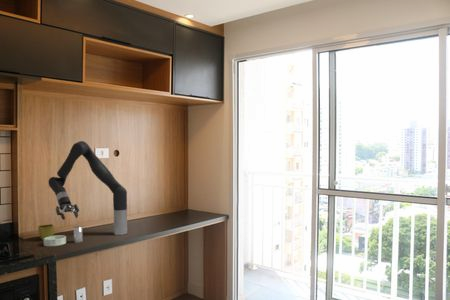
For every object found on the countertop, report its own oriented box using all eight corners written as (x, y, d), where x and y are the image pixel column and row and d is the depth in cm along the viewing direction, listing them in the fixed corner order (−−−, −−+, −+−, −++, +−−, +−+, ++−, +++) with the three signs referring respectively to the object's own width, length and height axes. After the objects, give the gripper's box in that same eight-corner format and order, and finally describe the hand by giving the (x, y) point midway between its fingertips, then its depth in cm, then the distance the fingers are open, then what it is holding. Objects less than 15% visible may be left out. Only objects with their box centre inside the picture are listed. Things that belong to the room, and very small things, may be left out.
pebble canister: (74, 241, 241) (74, 225, 241) (83, 240, 242) (83, 225, 242) (73, 243, 236) (73, 227, 236) (81, 242, 237) (81, 227, 237)
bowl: (47, 242, 239) (47, 235, 239) (68, 240, 242) (68, 234, 242) (41, 246, 226) (41, 240, 226) (63, 245, 229) (63, 239, 229)
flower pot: (40, 241, 242) (40, 227, 242) (37, 239, 249) (37, 225, 249) (54, 239, 247) (54, 226, 247) (51, 237, 254) (51, 224, 254)
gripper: (54, 197, 248) (61, 215, 239) (75, 195, 258) (82, 213, 250) (51, 204, 251) (58, 223, 243) (72, 202, 261) (79, 220, 253)
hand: (70, 218), depth 246 cm, fingers open, 8 cm apart
